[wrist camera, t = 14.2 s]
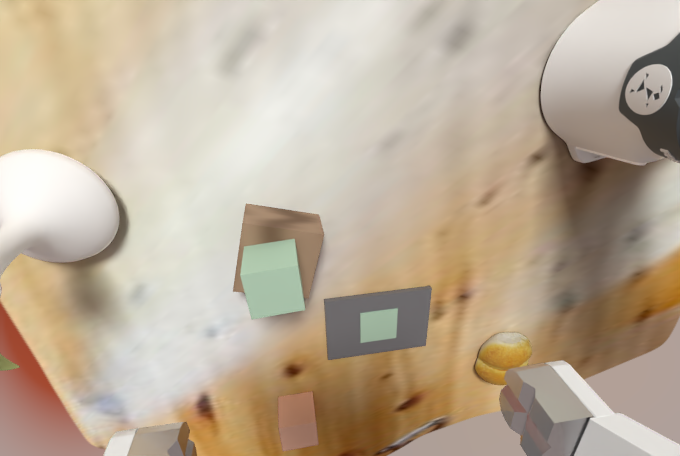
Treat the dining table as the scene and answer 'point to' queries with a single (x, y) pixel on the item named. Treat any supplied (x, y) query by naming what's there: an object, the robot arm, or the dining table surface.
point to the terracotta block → (297, 421)
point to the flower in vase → (52, 210)
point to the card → (377, 322)
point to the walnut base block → (282, 238)
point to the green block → (272, 279)
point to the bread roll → (502, 356)
